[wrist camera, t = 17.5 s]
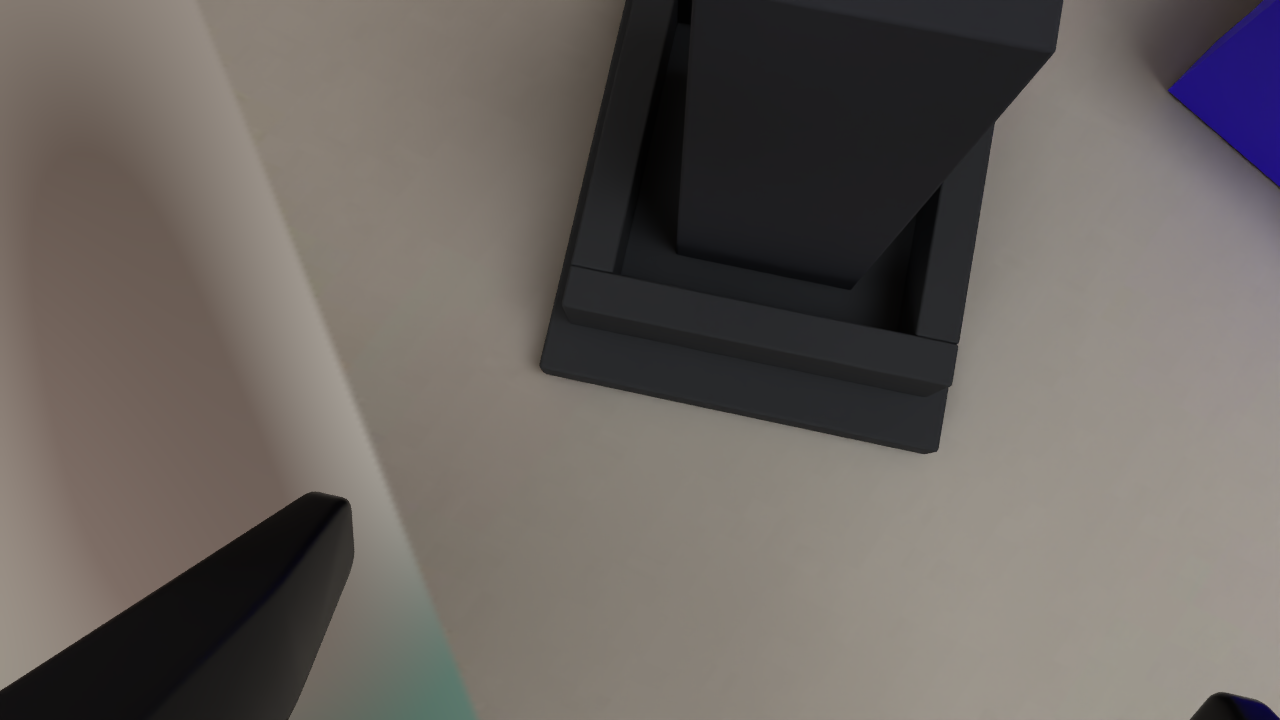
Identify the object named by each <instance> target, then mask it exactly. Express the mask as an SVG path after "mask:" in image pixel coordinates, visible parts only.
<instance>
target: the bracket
mask: <svg viewBox="0 0 1280 720" xmlns="http://www.w3.org/2000/svg"><path fill="white" fill-rule="evenodd" d="M1168 91H1169V92H1170V93H1171V94H1173V95H1174V96H1175V97H1176V98H1177V99H1178V100H1180V101H1181V102H1182V103H1183V104H1184V105H1185V106H1187V107H1188V108H1189V109H1190V110H1191V111H1192V112H1193V113H1195V114H1196V115H1197V116H1198V117H1199V118H1200V119H1202V120H1203V121H1204V122H1205V123H1206V124H1207V125H1209V126H1210V127H1211V128H1212V129H1213V130H1214V131H1215V132H1217V133H1218V134H1219V135H1220V136H1221V137H1222V138H1224V139H1225V140H1226V141H1227V142H1228V143H1229V144H1231V145H1232V146H1233V147H1234V148H1235V149H1236V150H1237V151H1239V152H1240V153H1241V154H1242V155H1243V156H1244V157H1246V158H1247V159H1248V160H1249V161H1250V162H1251V163H1253V164H1254V165H1255V166H1256V167H1257V168H1258V169H1259V170H1261V171H1262V172H1263V173H1264V174H1265V175H1266V176H1268V177H1269V178H1270V179H1271V180H1272V181H1273V182H1275V183H1276V184H1277V185H1278V186H1279V187H1280V0H1263V1H1262V2H1261V3H1260V4H1259V5H1258V6H1257V7H1256V8H1255V9H1254V10H1253V11H1251V12H1250V13H1249V14H1248V15H1247V16H1246V17H1244V18H1243V19H1242V20H1241V21H1240V22H1238V23H1237V24H1236V25H1235V26H1234V27H1233V28H1231V29H1230V30H1229V31H1228V32H1227V33H1225V34H1224V35H1223V36H1222V37H1221V38H1220V39H1218V40H1217V41H1216V42H1215V43H1214V44H1213V45H1212V46H1211V47H1210V48H1209V49H1208V50H1207V51H1206V52H1205V53H1204V54H1203V55H1202V56H1201V57H1200V58H1199V59H1198V60H1197V61H1196V62H1195V63H1194V64H1193V65H1192V66H1191V67H1190V68H1189V69H1188V70H1187V71H1186V72H1185V73H1184V74H1183V75H1182V76H1181V77H1180V78H1179V79H1178V80H1177V81H1176V82H1175V83H1174V84H1173V85H1172V86H1171V87H1170V88H1169V89H1168Z"/></svg>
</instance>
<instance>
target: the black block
mask: <svg viewBox="0 0 1280 720" xmlns="http://www.w3.org/2000/svg"><path fill="white" fill-rule="evenodd" d="M1062 5H1063V0H692V16H691V31H690V46H689V61H688V77H687V92H686V107H685V122H684V138H683V153H682V168H681V183H680V199H679V214H678V229H677V244H676V254H678V255H682V256H687V257H691V258H696V259H701V260H706V261H711V262H716V263H721V264H726V265H730V266H735V267H740V268H745V269H750V270H755V271H760V272H765V273H769V274H774V275H779V276H784V277H789V278H794V279H799V280H804V281H808V282H813V283H818V284H823V285H828V286H833V287H838V288H843V289H848V290H851V289H852V288H853V287H854V286H855V285H856V284H857V282H858V281H859V280H860V279H861V278H862V277H863V275H864V274H865V273H866V272H867V271H868V270H869V268H870V267H871V266H872V265H873V264H874V263H875V261H876V260H877V259H878V258H879V257H880V256H881V254H882V253H883V252H884V251H885V250H886V249H887V247H888V246H889V245H890V244H891V243H892V242H893V240H894V239H895V238H896V237H897V236H898V235H899V233H900V232H901V231H902V230H903V229H904V228H905V226H906V225H907V224H908V223H909V222H910V221H911V219H912V218H913V217H914V216H915V215H916V214H917V212H918V211H919V210H920V209H921V208H922V207H923V205H924V204H925V203H926V202H927V201H928V200H929V198H930V197H931V196H932V195H933V194H934V193H935V191H936V190H937V189H938V188H939V187H940V186H941V184H942V183H943V182H944V181H945V180H946V179H947V177H948V176H949V175H950V174H951V173H952V172H953V170H954V169H955V168H956V167H957V166H958V165H959V163H960V162H961V161H962V160H963V159H964V158H965V156H966V155H967V154H968V153H969V152H970V151H971V149H972V148H973V147H974V146H975V145H976V143H977V142H978V141H979V140H980V139H981V138H982V136H983V135H984V134H985V133H986V132H987V131H988V129H989V128H990V127H991V126H992V125H993V124H994V122H995V121H996V120H997V119H998V118H999V117H1000V115H1001V114H1002V113H1003V112H1004V111H1005V110H1006V108H1007V107H1008V106H1009V105H1010V104H1011V103H1012V101H1013V100H1014V99H1015V98H1016V97H1017V96H1018V94H1019V93H1020V92H1021V91H1022V90H1023V89H1024V87H1025V86H1026V85H1027V84H1028V83H1029V82H1030V80H1031V79H1032V78H1033V77H1034V76H1035V75H1036V73H1037V72H1038V71H1039V70H1040V69H1041V68H1042V66H1043V65H1044V64H1045V63H1046V62H1047V61H1048V59H1049V58H1050V57H1051V56H1052V55H1053V53H1054V52H1055V50H1056V44H1057V38H1058V31H1059V25H1060V18H1061V12H1062Z"/></svg>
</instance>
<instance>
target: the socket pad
mask: <svg viewBox="0 0 1280 720" xmlns="http://www.w3.org/2000/svg"><path fill="white" fill-rule="evenodd" d="M691 16H692V0H626V2H625V6H624V10H623V15H622V19H621V23H620V27H619V32H618V36H617V40H616V44H615V48H614V53H613V57H612V61H611V65H610V70H609V74H608V78H607V82H606V86H605V91H604V95H603V99H602V103H601V107H600V112H599V116H598V120H597V124H596V129H595V133H594V137H593V141H592V145H591V150H590V154H589V158H588V162H587V167H586V171H585V175H584V179H583V183H582V188H581V192H580V196H579V200H578V205H577V209H576V213H575V217H574V221H573V226H572V230H571V234H570V238H569V243H568V247H567V251H566V255H565V259H564V264H563V268H562V272H561V276H560V280H559V285H558V289H557V293H556V297H555V302H554V306H553V310H552V314H551V318H550V323H549V327H548V331H547V335H546V340H545V344H544V348H543V352H542V356H541V361H540V368H541V369H542V370H543V372H544V373H546V374H549V375H554V376H558V377H563V378H568V379H572V380H577V381H582V382H587V383H591V384H596V385H601V386H605V387H610V388H615V389H620V390H624V391H629V392H634V393H638V394H643V395H648V396H653V397H657V398H662V399H667V400H671V401H676V402H681V403H686V404H690V405H695V406H700V407H704V408H709V409H714V410H719V411H723V412H728V413H733V414H737V415H742V416H747V417H752V418H756V419H761V420H766V421H770V422H775V423H780V424H785V425H789V426H794V427H799V428H803V429H808V430H813V431H818V432H822V433H827V434H832V435H836V436H841V437H846V438H851V439H855V440H860V441H865V442H869V443H874V444H879V445H884V446H888V447H893V448H898V449H902V450H907V451H912V452H917V453H921V454H928V453H932V452H937V450H938V448H939V442H940V436H941V430H942V424H943V417H944V411H945V405H946V399H947V393H948V387H950V386H951V385H952V382H953V376H954V369H955V363H956V357H957V351H958V345H956V344H958V343H959V339H960V333H961V327H962V321H963V314H964V308H965V302H966V296H967V290H968V284H969V278H970V271H971V265H972V259H973V253H974V247H975V241H976V234H977V228H978V222H979V216H980V210H981V204H982V198H983V191H984V185H985V179H986V173H987V167H988V161H989V155H990V148H991V142H992V136H993V130H994V124H995V122H994V124H993V125H992V126H991V127H990V128H989V129H988V131H987V132H986V133H985V134H984V135H983V136H982V138H981V139H980V140H979V141H978V142H977V143H976V145H975V146H974V147H973V148H972V149H971V151H970V152H969V153H968V154H967V155H966V156H965V158H964V159H963V160H962V161H961V162H960V163H959V165H958V166H957V167H956V168H955V169H954V170H953V172H952V173H951V174H950V175H949V176H948V177H947V179H946V180H945V181H944V182H943V183H942V184H941V186H940V187H939V188H938V189H937V190H936V191H935V193H934V194H933V195H932V196H931V197H930V198H929V200H928V201H927V202H926V203H925V204H924V205H923V207H922V208H921V209H920V210H919V211H918V212H917V214H916V215H915V216H914V217H913V218H912V219H911V221H910V222H909V223H908V224H907V225H906V226H905V228H904V229H903V230H902V231H901V232H900V233H899V235H898V236H897V237H896V238H895V239H894V240H893V242H892V243H891V244H890V245H889V246H888V247H887V249H886V250H885V251H884V252H883V253H882V254H881V256H880V257H879V258H878V259H877V260H876V261H875V263H874V264H873V265H872V266H871V267H870V268H869V270H868V271H867V272H866V273H865V274H864V275H863V277H862V278H861V279H860V280H859V281H858V282H857V284H856V285H855V286H854V287H853V288H852V289H851V290H848V289H843V288H838V287H833V286H828V285H823V284H818V283H813V282H808V281H804V280H799V279H794V278H789V277H784V276H779V275H774V274H769V273H765V272H760V271H755V270H750V269H745V268H740V267H735V266H730V265H726V264H721V263H716V262H711V261H706V260H701V259H696V258H691V257H687V256H682V255H678V254H676V244H677V229H678V214H679V199H680V183H681V168H682V153H683V138H684V122H685V107H686V92H687V77H688V61H689V46H690V31H691Z"/></svg>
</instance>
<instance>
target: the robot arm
mask: <svg viewBox="0 0 1280 720" xmlns="http://www.w3.org/2000/svg"><path fill="white" fill-rule="evenodd" d="M353 559H354V539H353V526H352V511H351V505H350V503H349V501H348V500H347V499H345V498H343V497H338V496H334V495H329V494H325V493H321V492H310V493H307V494H305V495H303V496H302V497H300V498H298V499H297V500H295V501H294V502H292V503H291V504H289V505H288V506H286V507H285V508H283V509H282V510H280V511H278V512H277V513H275V514H274V515H272V516H271V517H269V518H267V519H266V520H264V521H263V522H261V523H260V524H258V525H257V526H255V527H254V528H252V529H250V530H249V531H247V532H246V533H244V534H243V535H241V536H240V537H238V538H236V539H235V540H233V541H232V542H230V543H229V544H227V545H226V546H224V547H223V548H221V549H219V550H218V551H216V552H215V553H213V554H212V555H210V556H209V557H207V558H206V559H204V560H202V561H201V562H200V563H198V564H196V565H195V566H193V567H192V568H190V569H188V570H187V571H185V572H184V573H182V574H181V575H179V576H178V577H176V578H174V579H173V580H171V581H170V582H168V583H167V584H165V585H164V586H162V587H160V588H159V589H157V590H156V591H154V592H153V593H151V594H150V595H148V596H147V597H145V598H144V599H142V600H140V601H139V602H137V603H136V604H134V605H133V606H131V607H130V608H128V609H127V610H125V611H123V612H122V613H120V614H119V615H117V616H116V617H114V618H112V619H111V620H109V621H108V622H106V623H105V624H103V625H102V626H100V627H98V628H97V629H95V630H94V631H92V632H91V633H90V634H88V635H86V636H85V637H83V638H81V639H80V640H78V641H77V642H75V643H74V644H72V645H71V646H69V647H67V648H66V649H64V650H63V651H61V652H60V653H58V654H57V655H55V656H54V657H52V658H50V659H49V660H47V661H46V662H44V663H43V664H41V665H40V666H38V667H37V668H35V669H34V670H32V671H30V672H29V673H27V674H26V675H24V676H23V677H21V678H20V679H18V680H17V681H15V682H13V683H12V684H10V685H9V686H7V687H5V688H4V689H2V690H1V691H0V720H288V719H289V717H290V715H291V713H292V711H293V709H294V707H295V705H296V703H297V701H298V698H299V696H300V694H301V691H302V689H303V687H304V684H305V682H306V680H307V677H308V675H309V672H310V670H311V668H312V665H313V662H314V660H315V658H316V655H317V653H318V650H319V648H320V645H321V643H322V640H323V638H324V635H325V633H326V631H327V628H328V626H329V623H330V621H331V618H332V615H333V613H334V611H335V608H336V606H337V603H338V601H339V598H340V596H341V593H342V591H343V589H344V586H345V584H346V581H347V579H348V576H349V574H350V571H351V567H352V564H353ZM1190 720H1280V718H1279V717H1278V716H1277V715H1276V714H1275V713H1274V712H1273V711H1272V710H1271V709H1270V708H1269V707H1268V706H1267V705H1265V704H1264V703H1262V702H1260V701H1258V700H1255V699H1252V698H1248V697H1243V696H1238V695H1234V694H1229V693H1225V692H1219V693H1216V694H1213V695H1211V696H1210V697H1209V698H1208V699H1207V700H1206V701H1205V702H1204V704H1203V705H1202V706H1201V707H1200V708H1199V709H1198V711H1197V712H1196V713H1195V714H1194V715H1193V717H1192V718H1191V719H1190Z"/></svg>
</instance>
